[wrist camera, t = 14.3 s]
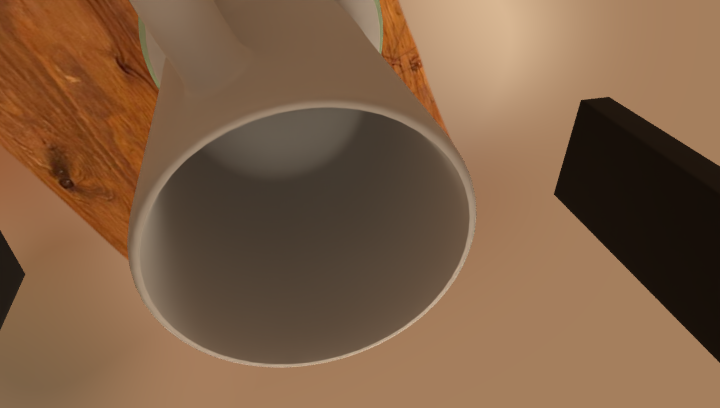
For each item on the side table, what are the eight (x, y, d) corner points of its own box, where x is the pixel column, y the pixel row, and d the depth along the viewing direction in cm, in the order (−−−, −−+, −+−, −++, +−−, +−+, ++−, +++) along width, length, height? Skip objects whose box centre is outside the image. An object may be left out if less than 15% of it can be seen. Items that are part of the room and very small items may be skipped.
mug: (398, 121, 23) (512, 285, 14) (238, 201, 23) (252, 409, 14) (272, -182, 15) (346, -228, 7) (41, -54, 16) (-172, 60, 7)
